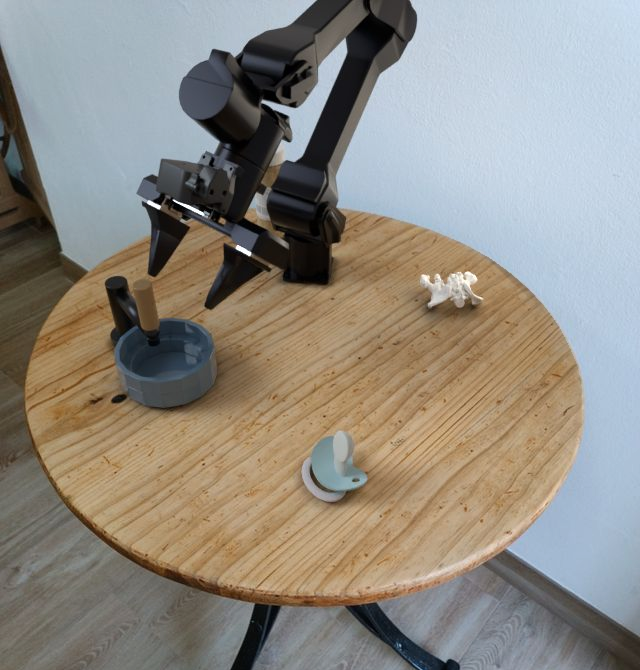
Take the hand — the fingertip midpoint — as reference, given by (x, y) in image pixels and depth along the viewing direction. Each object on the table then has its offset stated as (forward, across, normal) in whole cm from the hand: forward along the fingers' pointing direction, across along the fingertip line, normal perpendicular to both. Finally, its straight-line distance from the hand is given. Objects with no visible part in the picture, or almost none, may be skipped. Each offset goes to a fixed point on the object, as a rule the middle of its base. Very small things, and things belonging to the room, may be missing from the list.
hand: (178, 291), depth 76 cm
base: (+9, -9, +6) cm, 14 cm away
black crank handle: (+9, -5, +4) cm, 11 cm away
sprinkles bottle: (-12, -13, +28) cm, 33 cm away
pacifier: (+10, +24, +6) cm, 27 cm away
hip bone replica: (-15, +17, +30) cm, 37 cm away
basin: (+10, 0, +5) cm, 11 cm away
